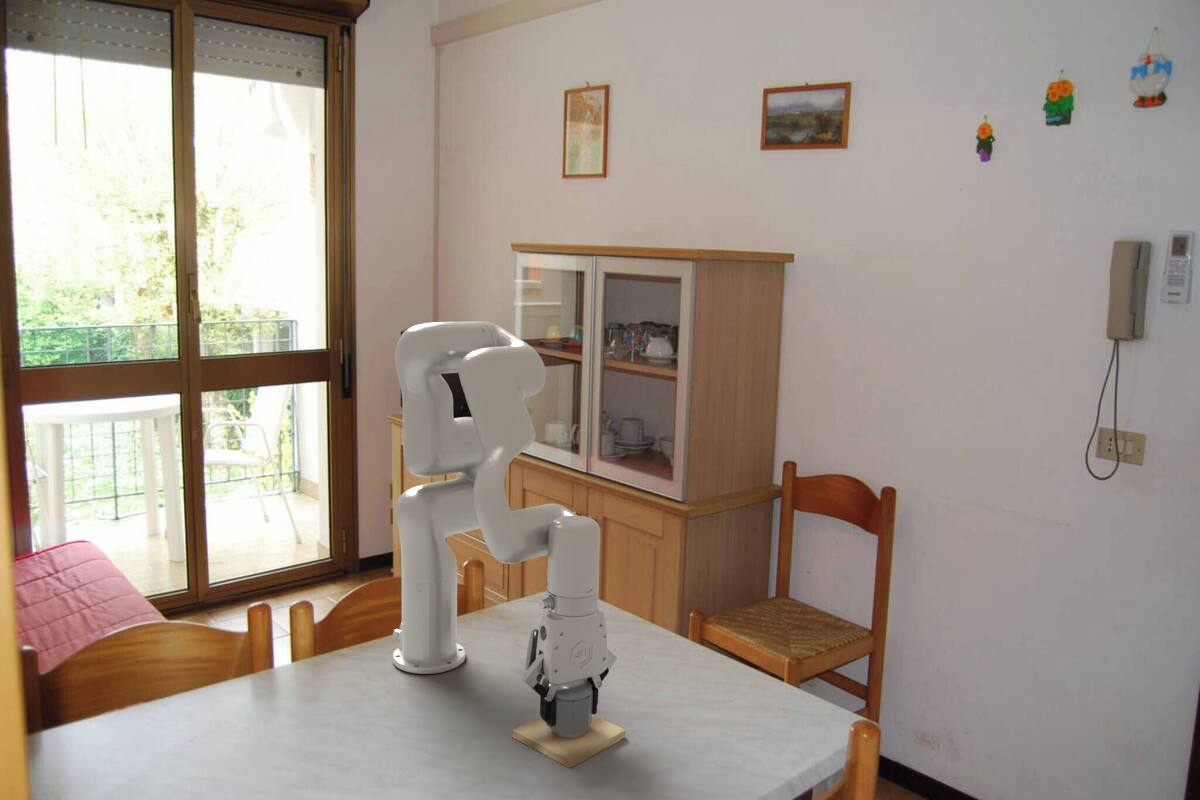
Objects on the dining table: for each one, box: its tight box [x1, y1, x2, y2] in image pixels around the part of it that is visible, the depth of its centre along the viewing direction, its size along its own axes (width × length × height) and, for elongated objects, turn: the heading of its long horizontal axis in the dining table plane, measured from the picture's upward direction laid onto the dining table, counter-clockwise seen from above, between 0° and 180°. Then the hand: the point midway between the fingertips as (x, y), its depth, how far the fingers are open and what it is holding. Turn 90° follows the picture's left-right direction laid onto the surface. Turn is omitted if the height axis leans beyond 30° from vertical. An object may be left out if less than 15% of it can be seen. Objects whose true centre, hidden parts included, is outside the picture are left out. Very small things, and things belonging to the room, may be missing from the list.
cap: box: [546, 679, 593, 735], centre depth 137 cm, size 6×6×6 cm
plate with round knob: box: [511, 714, 627, 769], centre depth 137 cm, size 12×12×7 cm
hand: (569, 715), depth 137 cm, fingers closed on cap, 6 cm apart
